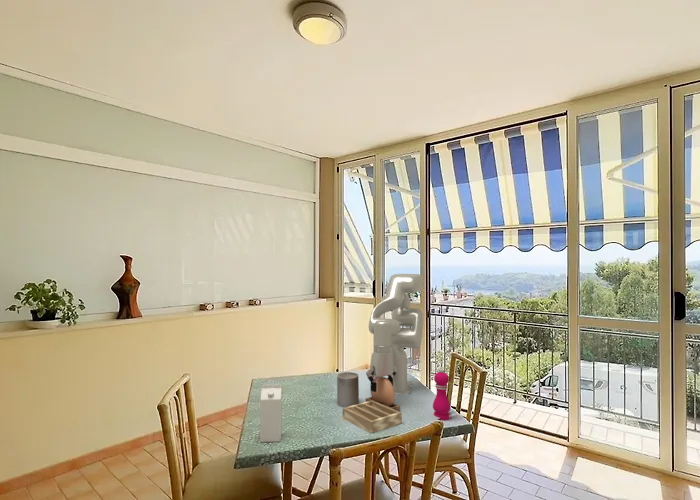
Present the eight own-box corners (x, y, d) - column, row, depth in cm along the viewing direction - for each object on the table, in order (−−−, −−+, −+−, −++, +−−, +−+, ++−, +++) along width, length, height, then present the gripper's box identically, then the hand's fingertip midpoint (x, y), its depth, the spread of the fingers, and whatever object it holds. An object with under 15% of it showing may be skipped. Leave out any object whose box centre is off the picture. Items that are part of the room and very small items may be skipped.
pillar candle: (354, 401, 184) (354, 368, 185) (361, 408, 175) (361, 374, 175) (334, 403, 181) (334, 370, 182) (340, 411, 172) (340, 376, 172)
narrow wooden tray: (375, 403, 181) (375, 395, 182) (400, 414, 169) (400, 405, 169) (365, 406, 178) (365, 398, 178) (390, 417, 165) (390, 408, 165)
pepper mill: (451, 415, 168) (451, 367, 168) (449, 421, 161) (449, 371, 161) (433, 413, 170) (433, 365, 171) (431, 419, 163) (431, 370, 164)
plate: (374, 402, 179) (374, 373, 180) (394, 411, 169) (394, 380, 169) (370, 404, 178) (370, 374, 178) (390, 412, 167) (390, 381, 168)
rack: (372, 411, 171) (372, 400, 171) (402, 425, 157) (402, 412, 157) (342, 420, 161) (342, 408, 161) (371, 436, 147) (371, 422, 147)
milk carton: (262, 433, 148) (263, 382, 149) (281, 433, 149) (282, 381, 150) (259, 442, 141) (260, 388, 142) (280, 441, 142) (280, 387, 143)
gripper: (390, 346, 182) (390, 384, 181) (361, 350, 172) (360, 390, 171) (402, 348, 176) (402, 388, 175) (373, 352, 166) (372, 394, 165)
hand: (381, 389), depth 173 cm, fingers open, 9 cm apart
